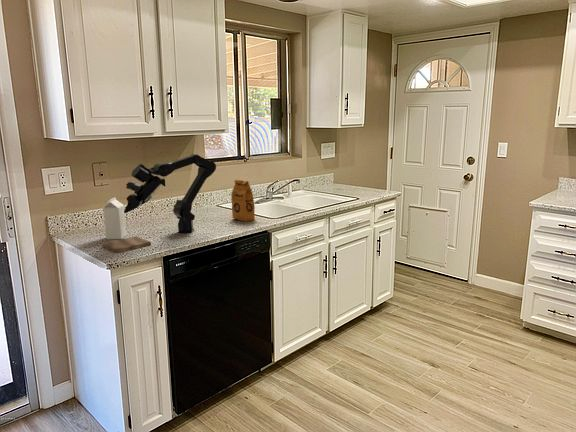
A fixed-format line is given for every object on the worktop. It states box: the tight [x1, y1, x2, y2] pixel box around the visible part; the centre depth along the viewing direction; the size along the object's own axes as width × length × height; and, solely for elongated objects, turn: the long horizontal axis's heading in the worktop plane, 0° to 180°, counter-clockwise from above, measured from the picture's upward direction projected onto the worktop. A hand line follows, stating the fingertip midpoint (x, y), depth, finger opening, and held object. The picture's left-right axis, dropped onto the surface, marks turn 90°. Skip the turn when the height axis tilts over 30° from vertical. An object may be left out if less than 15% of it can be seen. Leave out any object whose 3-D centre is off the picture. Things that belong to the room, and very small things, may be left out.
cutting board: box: [101, 235, 152, 254], centre depth 193 cm, size 16×14×2 cm
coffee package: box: [230, 179, 255, 223], centre depth 238 cm, size 10×12×22 cm
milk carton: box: [102, 196, 127, 240], centre depth 205 cm, size 7×7×19 cm
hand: (128, 210), depth 204 cm, fingers open, 9 cm apart
